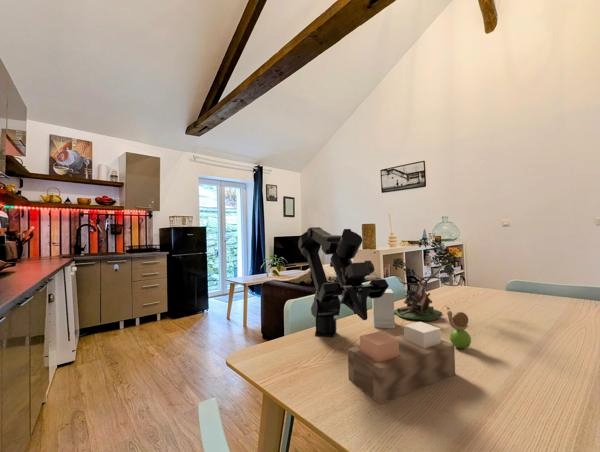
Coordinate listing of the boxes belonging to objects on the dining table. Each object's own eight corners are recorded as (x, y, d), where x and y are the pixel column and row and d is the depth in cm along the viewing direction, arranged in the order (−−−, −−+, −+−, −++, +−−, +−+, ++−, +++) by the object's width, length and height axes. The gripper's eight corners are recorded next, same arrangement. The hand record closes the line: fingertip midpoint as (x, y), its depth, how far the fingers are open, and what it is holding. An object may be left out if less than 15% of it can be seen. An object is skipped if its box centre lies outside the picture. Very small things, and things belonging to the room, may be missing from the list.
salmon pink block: (378, 378, 58) (378, 345, 58) (360, 366, 64) (359, 335, 64) (399, 371, 61) (398, 339, 61) (380, 360, 66) (379, 331, 67)
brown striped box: (380, 403, 55) (379, 368, 56) (348, 378, 65) (347, 349, 65) (455, 373, 66) (454, 344, 66) (418, 356, 76) (417, 330, 76)
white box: (424, 362, 65) (423, 333, 65) (404, 352, 70) (403, 325, 70) (441, 357, 67) (440, 328, 68) (420, 348, 73) (419, 321, 73)
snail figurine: (442, 344, 83) (441, 304, 83) (462, 343, 84) (461, 304, 84) (454, 352, 78) (453, 309, 78) (475, 351, 78) (474, 309, 78)
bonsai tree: (444, 334, 91) (441, 239, 92) (380, 317, 109) (378, 238, 110) (478, 312, 114) (476, 236, 115) (420, 301, 132) (419, 236, 133)
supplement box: (395, 328, 97) (394, 292, 97) (373, 327, 99) (372, 292, 99) (392, 321, 104) (391, 288, 105) (372, 320, 106) (371, 288, 106)
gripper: (321, 252, 71) (340, 305, 60) (383, 249, 76) (411, 298, 65) (311, 278, 78) (327, 329, 67) (369, 274, 84) (392, 321, 73)
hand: (365, 319), depth 68 cm, fingers closed
